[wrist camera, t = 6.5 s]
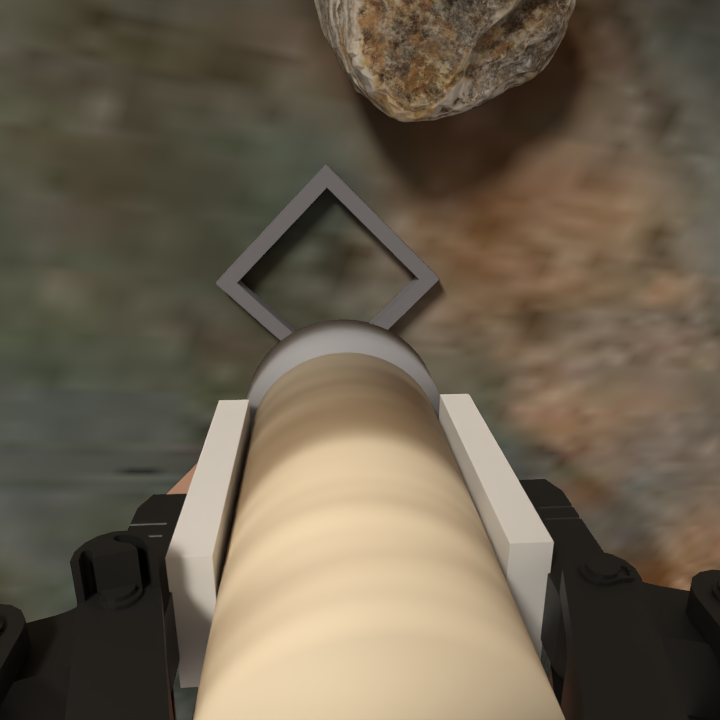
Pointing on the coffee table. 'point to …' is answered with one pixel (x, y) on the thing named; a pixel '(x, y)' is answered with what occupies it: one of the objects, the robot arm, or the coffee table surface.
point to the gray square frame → (287, 218)
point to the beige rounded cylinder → (360, 554)
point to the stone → (441, 49)
